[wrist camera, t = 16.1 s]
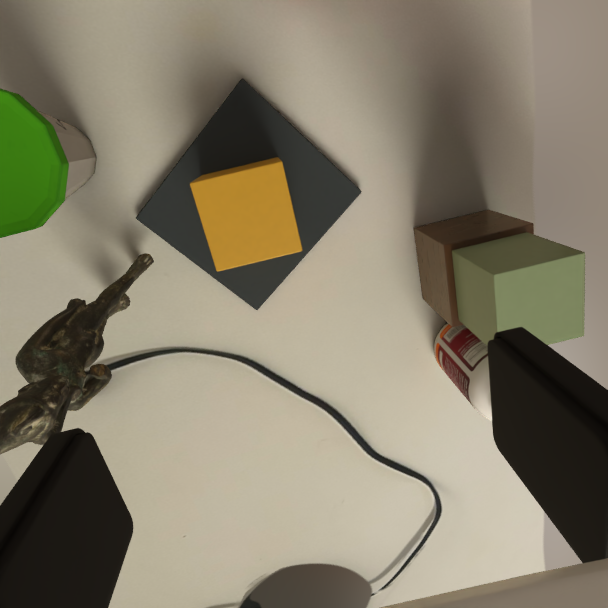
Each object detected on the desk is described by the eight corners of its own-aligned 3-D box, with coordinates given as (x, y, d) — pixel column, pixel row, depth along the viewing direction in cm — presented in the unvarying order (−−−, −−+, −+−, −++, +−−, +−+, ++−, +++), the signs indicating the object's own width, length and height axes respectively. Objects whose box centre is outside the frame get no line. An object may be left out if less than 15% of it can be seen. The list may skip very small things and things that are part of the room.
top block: (278, 156, 33) (282, 160, 28) (296, 233, 36) (302, 251, 30) (200, 175, 33) (189, 182, 28) (223, 251, 36) (216, 272, 30)
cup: (115, 102, 32) (2, 73, 18) (122, 213, 34) (29, 263, 20) (-2, 92, 31) (-218, 54, 17) (15, 206, 33) (-160, 255, 19)
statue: (184, 275, 37) (107, 419, 18) (134, 326, 38) (13, 511, 19) (138, 235, 35) (3, 346, 16) (88, 290, 36) (-93, 451, 18)
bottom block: (488, 209, 37) (533, 223, 31) (493, 281, 39) (536, 307, 33) (413, 227, 37) (443, 245, 31) (422, 298, 39) (452, 327, 33)
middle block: (527, 231, 31) (585, 252, 26) (529, 302, 33) (584, 336, 28) (451, 250, 31) (493, 274, 26) (458, 320, 33) (499, 357, 28)
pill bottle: (481, 377, 43) (552, 452, 33) (422, 366, 42) (476, 440, 31) (506, 318, 41) (589, 378, 31) (445, 305, 40) (510, 363, 30)
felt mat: (242, 79, 32) (242, 78, 31) (360, 190, 36) (362, 191, 35) (137, 217, 35) (135, 218, 34) (257, 308, 38) (257, 310, 38)
